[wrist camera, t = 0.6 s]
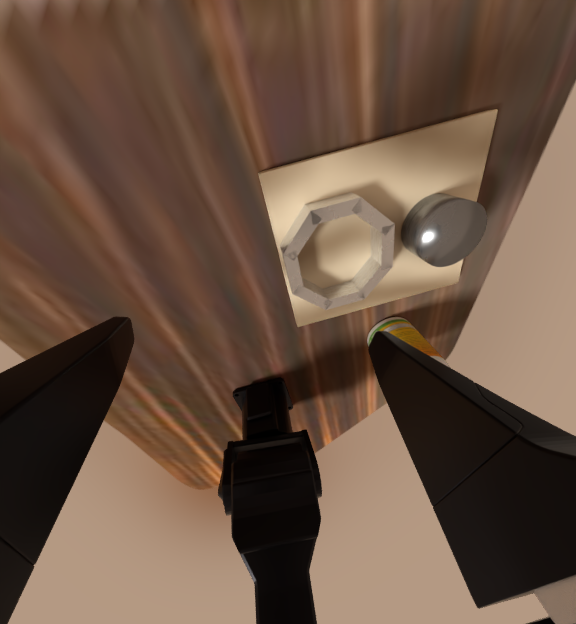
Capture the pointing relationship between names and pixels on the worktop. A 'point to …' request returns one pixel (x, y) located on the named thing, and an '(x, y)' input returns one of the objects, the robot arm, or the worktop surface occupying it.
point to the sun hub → (443, 229)
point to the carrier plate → (377, 205)
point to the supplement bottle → (406, 336)
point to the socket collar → (370, 270)
